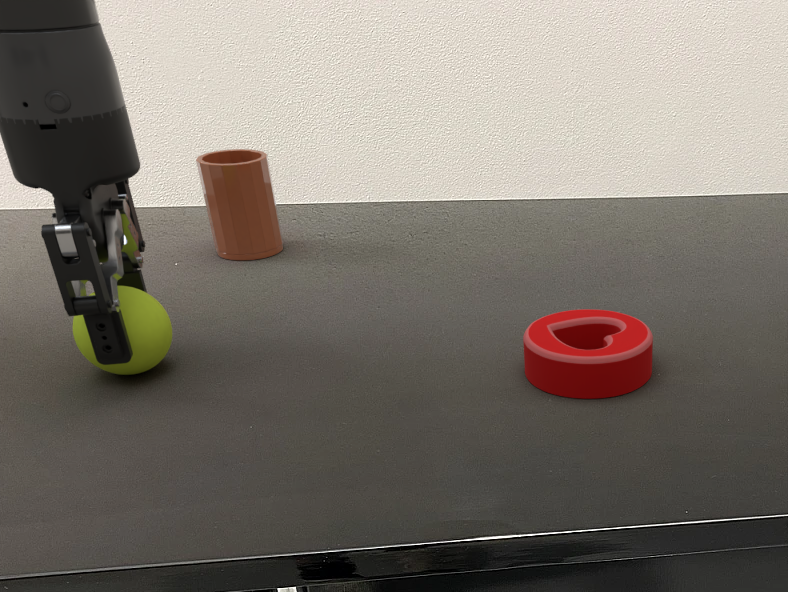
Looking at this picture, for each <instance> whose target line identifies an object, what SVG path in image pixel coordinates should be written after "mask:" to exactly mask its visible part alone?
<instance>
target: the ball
mask: <svg viewBox="0 0 788 592" xmlns="http://www.w3.org/2000/svg"><path fill="white" fill-rule="evenodd" d="M117 288H118V297H119V301H120V309H121V313H122V316H123V320H124V323H125V327H126V330H127V334H128V337H129V341H130V344H131V348H132V351H133V356H132V358H131V360H130V361H129V362H128V363H123V364H111V365H103V364H100V363H99V362H98V361H97V360H96V356H95V353H94V350H93V347H92V344H91V340H90V337H89V334H88V331H87V327H86V324H85V321H84V318H83V315H78V316H73V317H72V335H73V339H74V342H75V345H76V347H77V348H78V350H79V352H80V353H81V354H82V356H83V357H84V358H85V359H86V360H87V361H88V362H89V363H90V364H92V365H93V366H94V367H97V368H99V369H100V370H103V371H105V372H107V373H111V374H116V375H121V376H123V375H124V376H129V375H131V376H132V375H136V374H141V373H144V372H147V371H150V370H151V369H153V368H154V367H156V366H157V365H159V364H160V363H161V362H162V361H163V359H164V358H166V356H167V354H168V352H169V351H170V348H171V345H172V341H173V327H172V326H173V325H172V322H171V318H170V316H169V314H168V312H167V310H166V308H164V306H163V305H162V304H161V303H160V302H159V300H157V299H156V298H155V297H154V296H152V295H151V294H149V293H148V292H147V293H146V292H144V291H142V290H139V289H136V288H133V287H128V286H117ZM92 295H95V292H94V291H93V292H91V293H90V294H89V295H88V296H92Z"/></svg>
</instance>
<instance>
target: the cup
mask: <svg viewBox="0 0 788 592" xmlns="http://www.w3.org/2000/svg"><path fill="white" fill-rule="evenodd" d="M195 161H196V162H195V163H196V167H197V171H198V176H199V181H200V184H201V189H202V194H203V198H204V204H205V207H206V208H205V209H206V212H207V216H208V223H209V226H210V231H211V236H212V240H213V245H214V248H215V251H216V255H217V256H218V257H219V258H221V259H225V260H230V261H254V260H262V259H265V258H269V257H273V256H276V255H278V254H279V253H281V252H282V251H283V250H284V242H283V234H282V229H281V224H280V217H279V212H278V207H277V200H276V196H275V190H274V185H273V179H272V173H271V168H270V163H269V157H268V153H266V152H264V151H263V150H259V149H258V150H257V149H247V148H235V149H234V148H231V149H222V150H215V151H210V152H206V153H203V154H201V155H198V156H197V157H196V159H195Z"/></svg>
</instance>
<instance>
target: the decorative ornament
mask: <svg viewBox="0 0 788 592" xmlns="http://www.w3.org/2000/svg"><path fill="white" fill-rule="evenodd" d="M522 340H523V341H522V342H523V361H524V375H525V377H526V379H527V380H528V382H529V383H530V384H531V385H532V386H534V387H535V388H537V389H539V390H541V391H542V392H545V393H548V394H550V395H555V396H560V397H564V398H570V399H571V398H572V399H583V400H585V399H587V400H588V399H591V400H592V399H595V400H596V399H606V398H614V397H618V396H623V395H626V394H628V393H632V392H634V391H637V390H638V389H640V388H642V387H643V386H644V385H645V384H646V383H647V382H648V381H649V380H650V379H651V377H652V375H653V352H654V351H653V348H654V346H653V345H654V336H653V332H652V330H650V328H649V326H648V325H647V324H646V323H645V322H643V321H642V320H640V319H638V317H634V316H631V315H629V314H626V313H623V312H619V311H613V310H608V309H591V308H590V309H587V308H586V309H584V308H583V309H571V310H569V309H568V310H564V311H563V310H562V311H558V312H554V313H550V314H547V315H545V316H542V317H540V318H538V319H536V320H534V321H533V322H531V323H530V324H529V325H528V327H527V328H526V330H525V331H524V334H523V337H522Z"/></svg>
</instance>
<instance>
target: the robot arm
mask: <svg viewBox="0 0 788 592" xmlns="http://www.w3.org/2000/svg"><path fill="white" fill-rule="evenodd" d="M97 8H98V7H97V4H96V0H0V138H1V141H2V144H3V147H4V151H5V153H6V156H7V160H8V162H9V166H10V168H11V172H12V175H13V178H14V179H15V180H16V181H17V182H18V183H19V184H21V185H23V186H25V187H28V188H31V189H35V190H36V189H41V190H44V191H46V192H48V193H49V194H51V196H52V198H53V205H54V211H55V212H52V213H51V223H49V224H42V225H41V230H40V231H41V232H40V234H41V237H42V240H43V242H44V245H45V249H46V252H47V254H48V258H49V261H50V265H51V267H52V271H53V274H54V276H55V281H56V283H57V287H58V290H59V293H60V296H61V299H62V302H63V307H64V310H65V312H66V314H67V315H68V317H74V316H78V315H83V318H84V321H85V324H86V327H87V331H88V334H89V337H90V340H91V344H92V347H93V350H94V353H95V356H96V360H97V361H98V362H99V363H100V364H103V365H111V364H123V363H128V362H129V361H130V360H131V358H132V356H133V351H132V348H131V344H130V341H129V337H128V334H127V330H126V327H125V323H124V320H123V316H122V313H121V309H120V301H119V297H118V288H117V286H128V287H133V288H136V289H139V290H142V291H144V292H146V293H148V291H147V286H146V283H145V278H144V275H143V271H142V269H143V267H144V257H143V256H142V254H141V253H145V252H146V251H145V250H146V249H145V248H146V242H145V240H144V237H143V234H142V233H143V232H142V229H141V226H140V223H139V219H138V215H137V210H136V207H135V203H134V201H133V196H132V192H131V188H130V180H129V179H131V178H132V177H134V176H136V175H137V174H138V173H139V171H140V169H141V161H140V157H139V153H138V150H137V145H136V140H135V137H134V133H133V128H132V125H131V122H130V118H129V113H128V109H127V106H126V101H125V98H124V97H125V96H124V93H123V89H122V85H121V82H120V77H119V73H118V70H117V66H116V63H115V59H114V57H113V54H112V52H111V49H110V47H109V44H108V41H107V38H106V37H105V34H104V31H103V27H102V25H101V22H100V16H99V11H98V9H97ZM88 282H90V283H91V285H92V288H93V292H95V295H92V296H89V295H87V287H86V284H87V283H88Z"/></svg>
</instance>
